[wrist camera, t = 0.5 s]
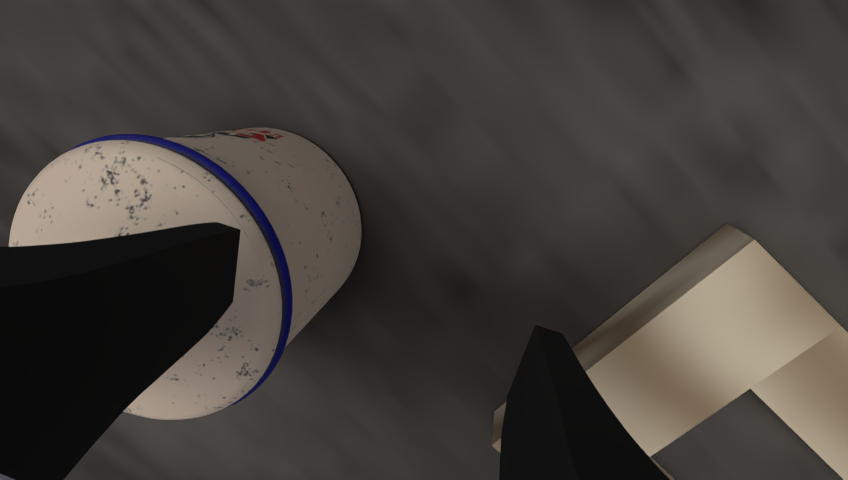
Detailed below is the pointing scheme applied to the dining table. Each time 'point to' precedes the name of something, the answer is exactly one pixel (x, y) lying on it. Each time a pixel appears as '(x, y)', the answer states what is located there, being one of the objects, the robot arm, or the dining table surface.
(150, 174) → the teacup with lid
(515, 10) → the dining table surface
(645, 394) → the notched board
